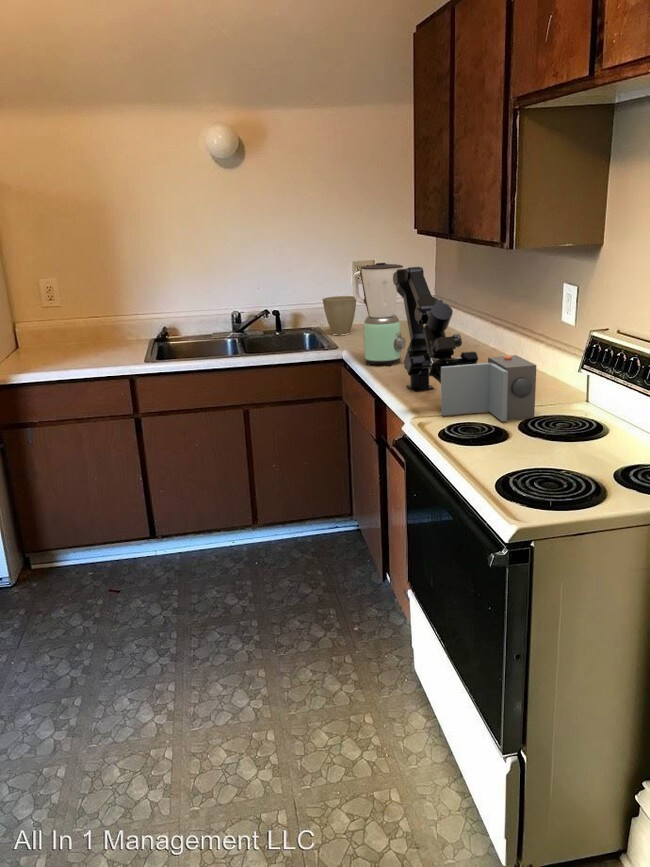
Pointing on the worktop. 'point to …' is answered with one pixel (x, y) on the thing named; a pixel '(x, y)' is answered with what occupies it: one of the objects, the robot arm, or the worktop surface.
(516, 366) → the camera case
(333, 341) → the worktop surface
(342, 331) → the plant pot
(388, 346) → the mint green blender
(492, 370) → the grey bookend
